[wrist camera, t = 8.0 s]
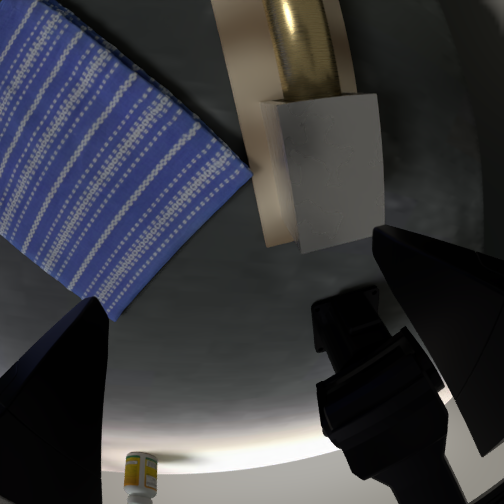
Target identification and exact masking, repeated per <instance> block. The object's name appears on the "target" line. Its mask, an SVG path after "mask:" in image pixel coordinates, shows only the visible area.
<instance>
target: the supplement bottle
mask: <svg viewBox="0 0 504 504" xmlns="http://www.w3.org/2000/svg"><path fill="white" fill-rule="evenodd" d="M124 490H125V492H126V493H127V494H129V496H128V499H127V504H152V500H151V498H153V497H155V496H156V494H157V459H156V458H155V457H154V456H152V455H149V454H146V453H140V452H132V453H128V454H127V456H126V465H125V480H124Z"/></svg>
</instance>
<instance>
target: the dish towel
mask: <svg viewBox="0 0 504 504" xmlns="http://www.w3.org/2000/svg"><path fill="white" fill-rule="evenodd" d="M253 175H254V174H253V173H252V171H251V170H250V168H249V167H248V165H246V164H245V163H243V162H242V161H241V160H240V158H239V157H238V156H237V155H236V154H235V153H234V152H233V151H232V150H231V149H230V148H229V147H228V145H227V144H226V143H225V142H223V141H222V140H221V139H220V138H219V137H218V136H217V135H216V134H215V133H214V132H213V130H211V129H210V128H209V127H208V126H207V125H206V124H205V123H204V122H203V121H202V120H200V118H199V116H197V115H196V114H194V113H193V112H191V111H190V110H189V109H188V108H187V107H186V106H185V105H184V104H183V103H182V102H181V101H180V100H178V99H177V98H176V97H175V96H174V95H173V94H172V93H171V92H170V91H169V90H167V89H166V88H165V87H164V86H162V85H161V84H159V83H158V82H157V81H156V80H155V79H153V78H152V77H150V76H149V75H147V74H146V73H145V72H144V70H143V69H141V68H140V67H139V66H137V65H136V64H134V63H133V62H132V61H131V60H130V59H128V58H127V57H126V56H125V55H123V54H122V53H121V52H120V51H119V50H118V49H117V48H116V47H115V46H113V45H112V44H110V43H109V42H107V41H106V40H105V39H104V38H102V37H101V36H100V35H98V34H97V33H96V32H95V31H94V30H93V29H91V28H90V27H89V26H87V25H86V24H85V23H83V22H82V21H81V20H80V19H79V18H78V17H77V16H75V15H74V13H73V12H72V11H70V10H69V9H67V8H65V7H63V6H62V5H61V4H59V3H58V2H57V1H56V0H2V1H1V3H0V234H1V235H2V236H3V237H4V238H5V239H7V240H8V241H9V242H10V243H11V244H12V245H14V246H15V247H16V248H17V249H18V250H20V251H21V253H23V254H25V255H26V256H27V257H28V258H29V259H31V260H32V261H33V262H34V263H36V264H38V265H39V266H40V267H41V268H42V269H43V270H44V271H45V272H47V273H48V274H49V275H51V276H53V277H54V278H55V279H56V280H58V281H60V282H61V283H62V284H63V285H64V286H65V287H66V288H67V289H69V290H70V291H73V292H74V293H75V294H76V295H78V296H79V297H80V298H81V299H82V300H83V299H84V298H87V297H91V296H95V297H97V298H98V300H99V301H100V303H101V305H102V306H103V308H104V310H105V311H106V313H107V315H108V318H110V319H111V320H113V321H114V322H116V321H117V319H118V318H119V316H120V315H121V313H122V312H123V310H124V309H125V308H126V307H127V306H128V305H129V304H130V303H131V302H132V300H133V299H134V298H135V297H136V296H137V294H138V293H139V292H140V291H141V290H142V289H143V288H144V287H145V286H146V284H147V283H148V282H149V281H150V280H151V279H152V278H153V277H154V276H155V275H156V273H157V272H158V271H159V270H160V269H161V268H162V267H163V266H164V265H165V264H166V263H167V262H168V261H169V260H170V258H171V257H172V256H173V255H174V254H175V253H176V252H177V251H178V250H179V249H180V247H181V246H182V245H183V244H184V243H185V242H186V241H187V240H188V239H189V238H190V237H191V236H192V235H193V234H194V233H195V232H196V231H197V230H198V229H199V228H200V227H201V226H202V225H203V224H204V223H205V222H206V221H207V220H208V219H209V218H210V217H211V216H212V215H213V214H214V213H215V212H216V211H217V210H218V209H219V208H220V207H221V206H222V205H223V204H224V203H225V202H226V201H227V200H228V199H229V198H230V197H231V196H232V195H233V194H234V193H235V192H236V191H237V190H238V189H239V188H240V187H241V186H242V185H244V184H245V183H246V182H247V181H248V180H249V179H250V178H251V177H252V176H253Z"/></svg>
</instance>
